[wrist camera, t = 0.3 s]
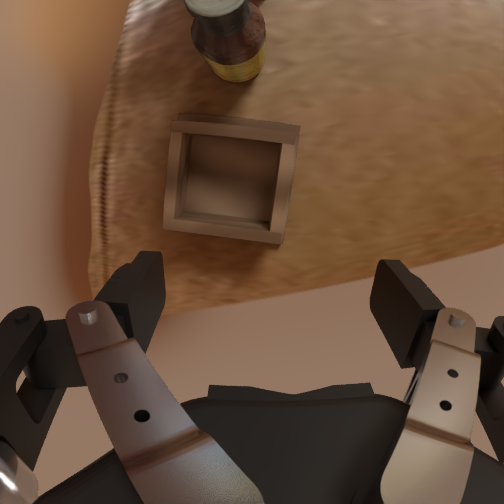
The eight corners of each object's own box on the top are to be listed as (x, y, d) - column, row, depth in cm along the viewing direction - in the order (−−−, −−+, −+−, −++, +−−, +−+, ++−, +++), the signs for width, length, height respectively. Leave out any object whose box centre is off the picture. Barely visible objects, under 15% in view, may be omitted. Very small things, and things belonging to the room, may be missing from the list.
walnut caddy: (180, 113, 35) (166, 107, 29) (299, 126, 35) (306, 122, 29) (169, 227, 39) (154, 240, 34) (282, 241, 39) (285, 257, 34)
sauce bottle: (214, 38, 32) (173, -49, 13) (267, 40, 32) (269, -51, 13) (209, 86, 34) (157, 29, 15) (263, 89, 34) (262, 28, 15)
